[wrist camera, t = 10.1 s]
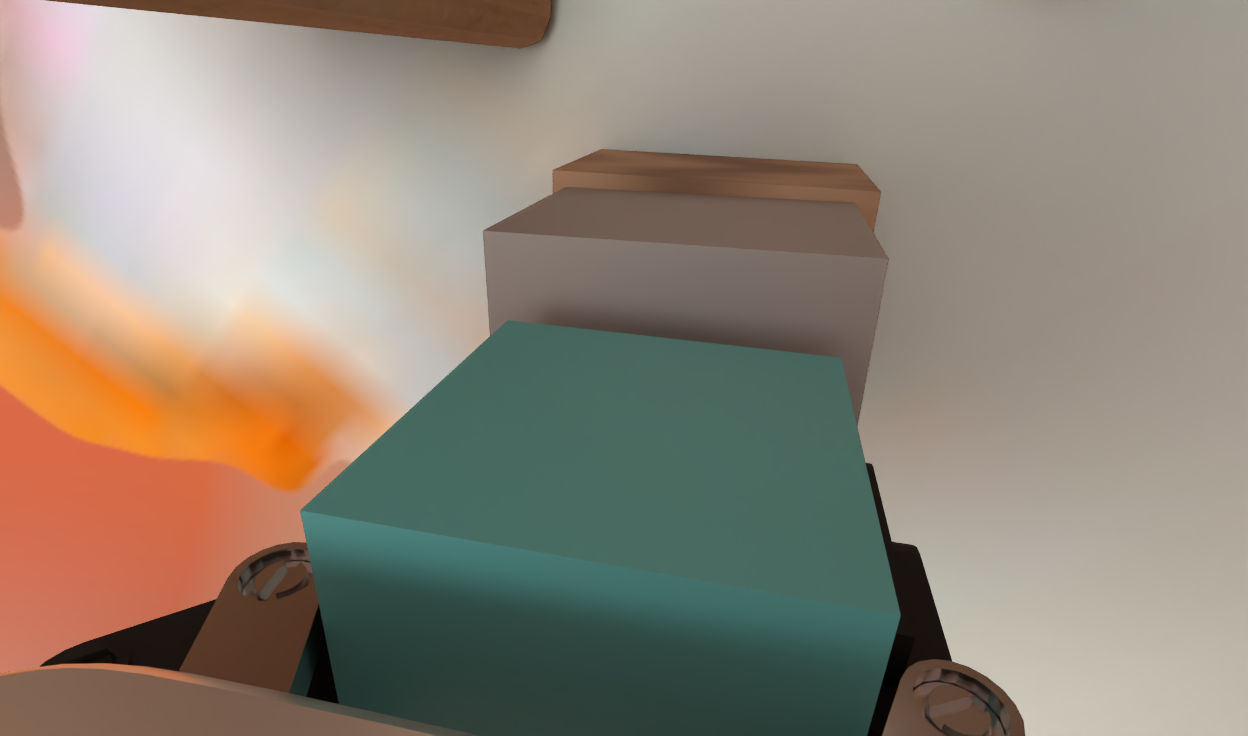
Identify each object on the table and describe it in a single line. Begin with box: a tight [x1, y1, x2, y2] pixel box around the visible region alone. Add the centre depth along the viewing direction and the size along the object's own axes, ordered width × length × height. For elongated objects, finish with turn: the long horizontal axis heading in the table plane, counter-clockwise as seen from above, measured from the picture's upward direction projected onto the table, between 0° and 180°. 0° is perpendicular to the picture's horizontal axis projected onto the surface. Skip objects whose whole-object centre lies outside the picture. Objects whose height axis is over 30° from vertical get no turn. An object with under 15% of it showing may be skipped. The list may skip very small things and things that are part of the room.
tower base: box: [553, 149, 881, 232], centre depth 23 cm, size 9×9×6 cm
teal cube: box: [300, 320, 901, 736], centre depth 10 cm, size 6×6×6 cm
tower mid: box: [483, 187, 889, 425], centre depth 17 cm, size 8×8×6 cm
